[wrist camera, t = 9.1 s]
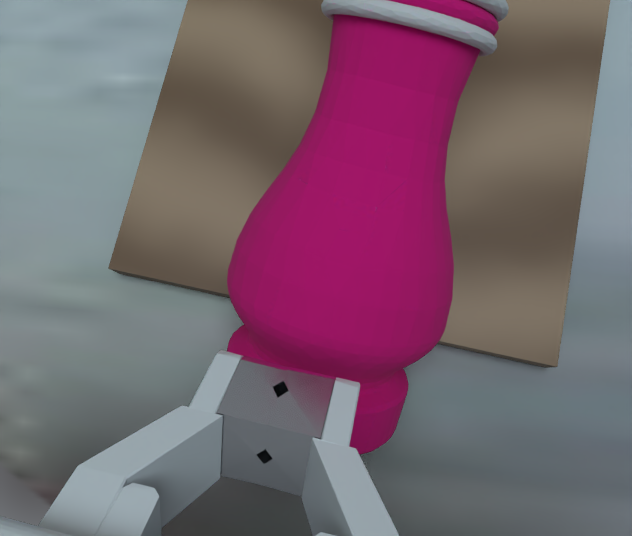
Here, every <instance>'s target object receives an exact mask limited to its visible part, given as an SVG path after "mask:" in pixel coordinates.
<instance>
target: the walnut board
mask: <svg viewBox="0 0 632 536" xmlns="http://www.w3.org/2000/svg"><path fill="white" fill-rule="evenodd" d="M322 2H323V0H188V2H187V5H186V9H185V12H184V15H183V19H182V22H181V25H180V29H179V32H178V36H177V39H176V42H175V46H174V49H173V52H172V56H171V59H170V62H169V66H168V69H167V73H166V76H165V79H164V83H163V86H162V89H161V93H160V96H159V99H158V103H157V106H156V110H155V113H154V116H153V120H152V123H151V126H150V130H149V133H148V137H147V140H146V143H145V147H144V150H143V153H142V157H141V160H140V163H139V167H138V170H137V174H136V177H135V180H134V184H133V187H132V190H131V194H130V197H129V200H128V204H127V207H126V211H125V214H124V217H123V221H122V224H121V227H120V231H119V234H118V238H117V241H116V244H115V248H114V251H113V254H112V258H111V261H110V264H109V269H111V270H113V271H115V272H117V273H119V274H123V275H128V276H132V277H137V278H141V279H146V280H151V281H155V282H160V283H164V284H169V285H173V286H178V287H182V288H187V289H192V290H196V291H201V292H205V293H210V294H214V295H219V296H223V297H228V298H230V296H229V292H228V287H227V274H228V268H229V264H230V261H231V258H232V254H233V251H234V248H235V244H236V241H237V238H238V236H239V234H240V233H241V231H242V229H243V227H244V225H245V223H246V221H247V219H248V217H249V215H250V213H251V212H252V210H253V209H254V207H255V206H256V205H257V203H258V202H259V200H260V199H261V198H262V196H263V195H264V193H265V192H266V191H267V189H268V188H269V187H270V185H271V184H272V183H273V181H274V180H275V179H276V178H277V176H278V175H279V174H280V172H281V171H282V170H283V168H284V167H285V165H286V164H287V162H288V161H289V159H290V158H291V156H292V155H293V153H294V152H295V150H296V149H297V147H298V146H299V144H300V143H301V140H302V138H303V136H304V134H305V132H306V130H307V128H308V126H309V124H310V121H311V119H312V117H313V115H314V113H315V110H316V107H317V103H318V100H319V96H320V93H321V89H322V86H323V82H324V79H325V75H326V72H327V67H328V59H329V51H330V43H331V35H332V26H333V21H332V20H330V19H329V18H327V17H326V16H325V15H324V14H323V12H322V9H321V4H322ZM506 2H507V4H508V7H509V9H508V14H507V15H506V17H505V18H504V19H502V20H501V21H499V22H498V25H499V29H498V31H497V33H496V34H495V35H494V37H495V39H496V40H497V48H496V50H495V51H494V52H493V53H492V54H490V55H487V56H478V58H477V60H476V62H475V64H474V67H473V69H472V71H471V74H470V76H469V78H468V81H467V83H466V85H465V87H464V90H463V92H462V94H461V97H460V99H459V101H458V105H457V109H456V113H455V117H454V122H453V126H452V130H451V134H450V138H449V143H448V149H447V161H446V173H445V189H446V204H447V213H448V220H449V226H450V233H451V240H452V250H453V261H454V276H453V296H452V302H451V307H450V311H449V315H448V320H447V324H446V328H445V331H444V333H443V335H442V337H441V339H440V341H439V342H438V343H437V344H442V345H446V346H451V347H455V348H460V349H464V350H469V351H474V352H478V353H483V354H487V355H492V356H496V357H501V358H505V359H510V360H515V361H519V362H524V363H528V364H533V365H537V366H542V367H557V365H558V358H559V351H560V344H561V337H562V330H563V323H564V316H565V309H566V302H567V295H568V288H569V281H570V274H571V267H572V261H573V254H574V247H575V240H576V233H577V226H578V219H579V212H580V205H581V198H582V191H583V184H584V177H585V170H586V163H587V157H588V150H589V143H590V136H591V129H592V122H593V115H594V108H595V101H596V94H597V87H598V80H599V73H600V66H601V59H602V53H603V46H604V39H605V32H606V25H607V18H608V11H609V4H610V0H506Z"/></svg>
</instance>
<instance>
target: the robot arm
mask: <svg viewBox="0 0 632 536" xmlns="http://www.w3.org/2000/svg"><path fill="white" fill-rule="evenodd" d="M335 378H336V380H335ZM334 383H335V384H334ZM359 391H360V383H359V382H355V381H350V380H346V379H341V378H337V377H332V376H328V375H324V374H319V373H315V372H310V371H306V370H301V369H297V368H292V367H287V366H283V365H279V364H275V363H271V362H267V361H264V360H260V359H256V358H252V357H248V356H242V355H239V354H235V353H231V352H227V351H223V350H220V351H219V352H218V353H217V354H216V355H215V357H214V359H213V361H212V363H211V365H210V366H209V368H208V370H207V372H206V374H205V376H204V378H203V380H202V382H201V384H200V386H199V388H198V390H197V392H196V393H195V395H194V397H193V399H192V401H191V403H190V405H189V407H187V406H182V405H181V406H180V407H178V408H176V409H175V410H173V411H171V412H169V413H168V414H166V415H164V416H162V417H161V418H159V419H157V420H156V421H154V422H152V423H150V424H149V425H147V426H145V427H144V428H142V429H140V430H138V431H137V432H135V433H133V434H131V435H130V436H128V437H126V438H125V439H123V440H121V441H119V442H118V443H116V444H114V445H113V446H111V447H109V448H107V449H106V450H104V451H102V452H100V453H99V454H97V455H95V456H94V457H92V458H90V459H88V460H87V461H85V462H83V463H82V464H80V465H78V466H77V468H76V469H75V471H74V472H73V474H72V475H71V477H70V478H69V480H68V481H67V483H66V484H65V486H64V487H63V489H62V490H61V492H60V493H59V495H58V496H57V498H56V499H55V501H54V502H53V504H52V505H51V507H50V508H49V510H48V512H47V513H46V515H45V516H44V517H43V519H42V520H41V522H40V523H39V525H38V526H35V525H32V524H28V523H24V522H21V521H17V520H13V519H9V518H6V517H3V516H0V536H162V533H161V528H162V527H163V526H165V525H166V524H167V523H168V522H169V521H171V520H172V519H173V518H174V517H175V516H176V515H178V514H179V513H180V512H181V511H182V510H184V509H185V508H186V507H187V506H188V505H189V504H191V503H192V502H193V501H194V500H195V499H196V498H198V497H199V496H200V495H201V494H202V493H204V492H205V491H206V490H207V489H208V488H209V487H211V486H212V485H213V484H214V483H215V482H217V481H218V480H219V479H220V476H224V477H228V478H232V479H237V480H241V481H246V482H250V483H254V484H259V485H263V486H266V487H270V488H273V489H277V490H280V491H284V492H287V493H291V494H294V495H298V496H301V497H302V502H303V505H304V508H305V512H306V515H307V518H308V521H309V525H310V528H311V531H312V534H313V536H399V534H398V532H397V530H396V528H395V526H394V524H393V522H392V520H391V518H390V516H389V514H388V512H387V510H386V508H385V506H384V504H383V502H382V500H381V498H380V496H379V493H378V491H377V489H376V487H375V485H374V483H373V481H372V479H371V477H370V475H369V473H368V471H367V469H366V467H365V465H364V463H363V461H362V459H361V457H360V455H359V453H358V451H357V449H356V448H353V447H349V445H350V440H351V434H352V429H353V423H354V418H355V412H356V407H357V402H358V396H359Z"/></svg>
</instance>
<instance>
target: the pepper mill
mask: <svg viewBox="0 0 632 536" xmlns="http://www.w3.org/2000/svg"><path fill="white" fill-rule="evenodd" d="M321 9H322V12H323V14H324V15H325V16H326V17H327V18H329V19H330V20H332V21H333V26H332V35H331V43H330V51H329V59H328V67H327V72H326V75H325V79H324V82H323V86H322V89H321V93H320V96H319V100H318V103H317V107H316V110H315V113H314V115H313V117H312V119H311V121H310V124H309V126H308V128H307V130H306V132H305V134H304V136H303V138H302V140H301V143H300V144H299V146H298V147H297V149H296V150H295V152H294V153H293V155H292V156H291V158H290V159H289V161H288V162H287V164H286V165H285V167H284V168H283V170H282V171H281V172H280V174H279V175H278V176H277V178H276V179H275V180H274V181H273V183H272V184H271V185H270V187H269V188H268V189H267V191H266V192H265V193H264V195H263V196H262V198H261V199H260V200H259V202H258V203H257V205H256V206H255V207H254V209H253V210H252V212H251V213H250V215H249V217H248V219H247V221H246V223H245V225H244V227H243V229H242V231H241V233H240V234H239V236H238V238H237V241H236V244H235V248H234V251H233V254H232V258H231V261H230V264H229V268H228V274H227V287H228V292H229V296H230V299H231V302H232V304H233V306H234V308H235V310H236V312H237V314H238V315H239V317H240V319H241V320H242V322H243V323H244V325H243V326H241V327H240V328H239V329H238V330H237V331H235V332H234V333H233V335H232V337H231V338H230V341H229V344H228V348H227V352H231V353H235V354H239V355H242V356H248V357H252V358H256V359H260V360H264V361H267V362H271V363H275V364H279V365H283V366H287V367H292V368H297V369H301V370H306V371H310V372H315V373H319V374H324V375H328V376H332V377H337V378H341V379H346V380H350V381H355V382H359V383H360V391H359V396H358V402H357V407H356V412H355V418H354V423H353V429H352V434H351V440H350V445H349V447H353V448H356V449H357V451H358V453H359V455H360V454H364V453H368V452H371V451H373V450H375V449H376V448H378V447H380V446H381V445H383V444H384V443H386V442H387V441H388V440H389V439H390V438H391V436H392V435H393V433H394V431H395V429H396V426H397V423H398V419H399V416H400V413H401V410H402V407H403V404H404V401H405V398H406V395H407V391H408V380H407V376H406V373H405V371H404V369H403V368H404V367H406V366H408V365H410V364H412V363H414V362H416V361H417V360H419V359H420V358H422V357H423V356H425V355H426V354H427V353H428V352H430V351H431V350H432V349H433V348H434V346H435V345H436V344H437V343H438V342H439V341H440V339H441V337H442V335H443V333H444V331H445V328H446V324H447V320H448V315H449V311H450V307H451V302H452V296H453V276H454V261H453V250H452V240H451V233H450V226H449V220H448V213H447V204H446V189H445V173H446V161H447V149H448V143H449V138H450V134H451V130H452V126H453V122H454V117H455V113H456V109H457V105H458V101H459V99H460V97H461V94H462V92H463V90H464V87H465V85H466V83H467V81H468V78H469V76H470V74H471V71H472V69H473V67H474V64H475V62H476V60H477V58H478V56H487V55H490V54H492V53H493V52H494V51H495V50H496V48H497V40H496V39H495V37H494V35H495V34H496V33H497V31H498V29H499V25H498V22H499V21H501V20H502V19H504V18H505V17H506V15H507V14H508V9H509V7H508V4H507V2H506V0H323V2H322V4H321ZM335 380H336V378H335ZM334 384H335V383H334Z"/></svg>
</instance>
